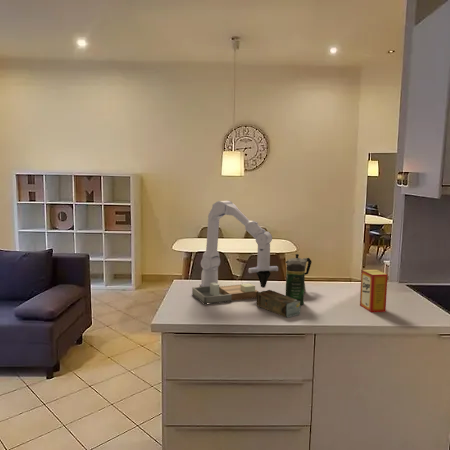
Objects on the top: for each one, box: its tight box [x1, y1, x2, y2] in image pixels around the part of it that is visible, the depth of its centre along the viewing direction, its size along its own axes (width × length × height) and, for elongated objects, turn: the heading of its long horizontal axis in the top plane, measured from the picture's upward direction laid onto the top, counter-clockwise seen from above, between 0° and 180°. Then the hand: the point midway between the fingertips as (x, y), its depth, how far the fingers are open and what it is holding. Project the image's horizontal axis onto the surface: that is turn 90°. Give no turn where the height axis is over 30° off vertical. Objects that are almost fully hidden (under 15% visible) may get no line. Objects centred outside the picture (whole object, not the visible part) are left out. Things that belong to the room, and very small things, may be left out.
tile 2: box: [240, 283, 256, 292], centre depth 192 cm, size 5×5×2 cm
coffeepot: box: [285, 253, 312, 293], centre depth 204 cm, size 15×9×18 cm, turn 118°
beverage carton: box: [255, 289, 301, 318], centre depth 173 cm, size 8×19×7 cm, turn 35°
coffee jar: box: [285, 260, 306, 306], centre depth 182 cm, size 10×8×19 cm
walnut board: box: [219, 284, 260, 302], centre depth 195 cm, size 14×14×3 cm
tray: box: [191, 286, 232, 305], centre depth 190 cm, size 17×12×3 cm
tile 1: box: [210, 282, 220, 296], centre depth 193 cm, size 5×5×2 cm
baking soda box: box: [359, 269, 388, 313], centre depth 176 cm, size 10×6×16 cm
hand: (263, 287), depth 195 cm, fingers closed
